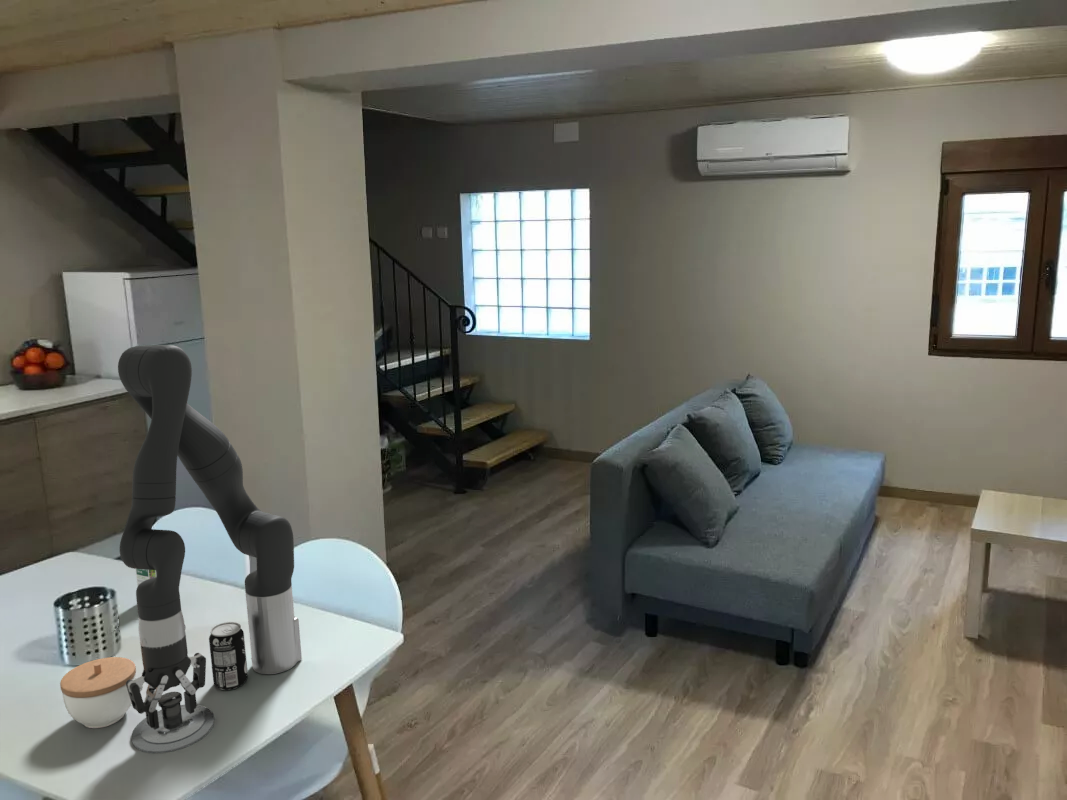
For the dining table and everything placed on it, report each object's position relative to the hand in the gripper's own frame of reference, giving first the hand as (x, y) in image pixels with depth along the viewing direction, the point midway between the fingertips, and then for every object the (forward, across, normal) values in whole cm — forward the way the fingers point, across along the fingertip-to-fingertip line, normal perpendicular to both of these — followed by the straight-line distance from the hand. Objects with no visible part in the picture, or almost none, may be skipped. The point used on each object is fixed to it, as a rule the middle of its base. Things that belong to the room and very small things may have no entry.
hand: (172, 719), depth 153 cm
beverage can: (+2, -15, -7) cm, 17 cm away
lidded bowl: (+2, +7, -14) cm, 16 cm away
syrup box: (+2, -22, -58) cm, 62 cm away
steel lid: (+2, 0, 0) cm, 2 cm away
